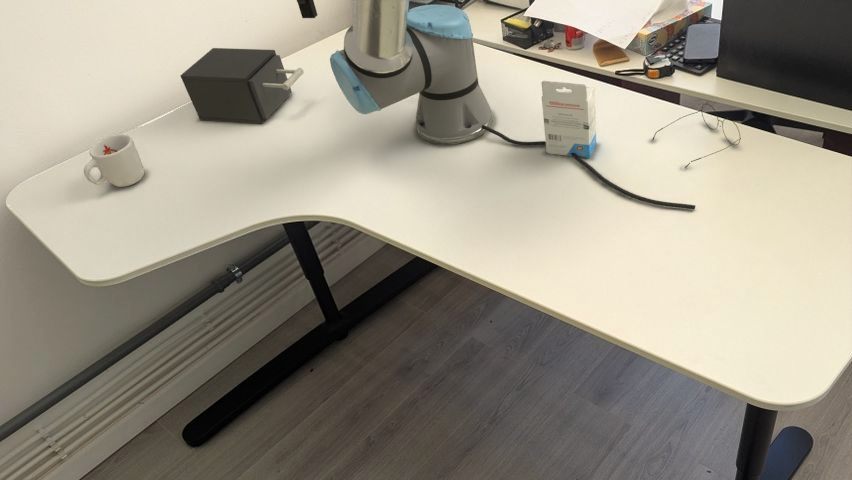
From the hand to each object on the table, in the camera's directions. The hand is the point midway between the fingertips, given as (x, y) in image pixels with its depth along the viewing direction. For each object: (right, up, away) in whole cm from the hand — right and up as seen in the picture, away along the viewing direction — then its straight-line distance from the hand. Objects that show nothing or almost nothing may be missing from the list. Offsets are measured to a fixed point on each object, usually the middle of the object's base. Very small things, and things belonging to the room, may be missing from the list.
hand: (310, 16), depth 146 cm
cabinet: (-18, -15, +15) cm, 28 cm away
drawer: (-14, -15, +13) cm, 24 cm away
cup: (-36, -34, -3) cm, 50 cm away
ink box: (+51, -29, -11) cm, 60 cm away
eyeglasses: (+74, -29, -14) cm, 80 cm away
